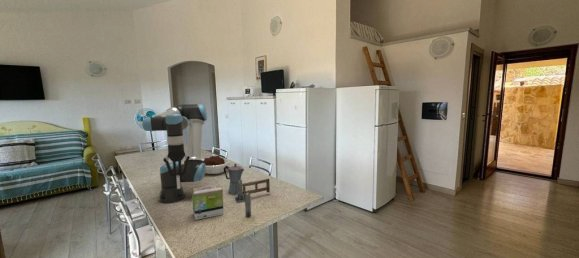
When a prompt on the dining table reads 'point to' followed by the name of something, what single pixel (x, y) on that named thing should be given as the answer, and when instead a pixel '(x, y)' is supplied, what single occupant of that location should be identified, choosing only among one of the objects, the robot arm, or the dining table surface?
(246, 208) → the gate posts
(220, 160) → the bowl of brown food
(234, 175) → the moka pot
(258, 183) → the gate
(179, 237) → the dining table surface
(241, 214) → the dining table surface
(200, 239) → the dining table surface
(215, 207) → the tea box
